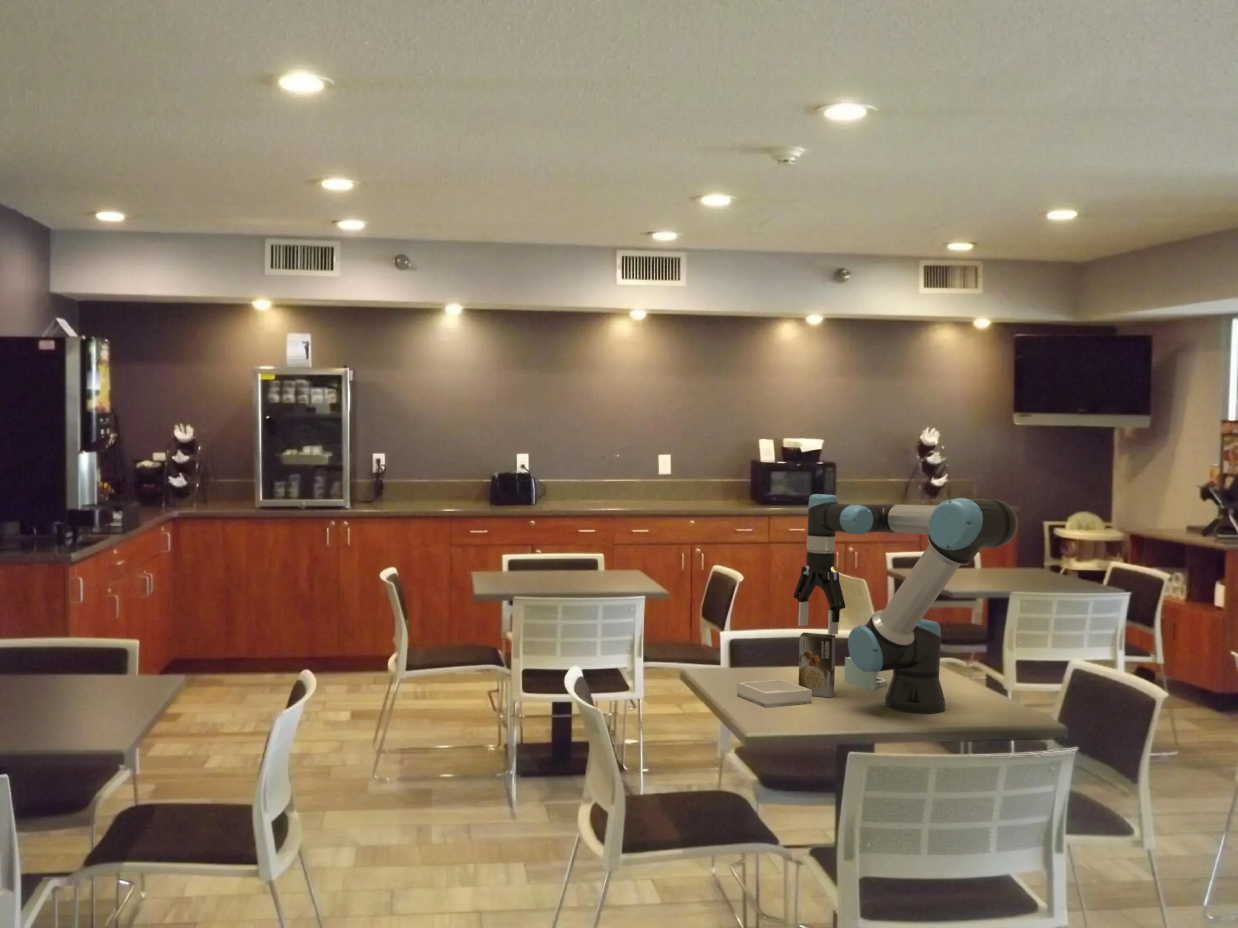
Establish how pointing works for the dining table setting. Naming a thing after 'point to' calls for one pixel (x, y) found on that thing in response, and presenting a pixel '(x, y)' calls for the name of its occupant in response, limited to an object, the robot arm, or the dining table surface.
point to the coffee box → (817, 663)
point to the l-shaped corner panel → (862, 676)
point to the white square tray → (774, 693)
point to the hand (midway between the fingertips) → (817, 629)
